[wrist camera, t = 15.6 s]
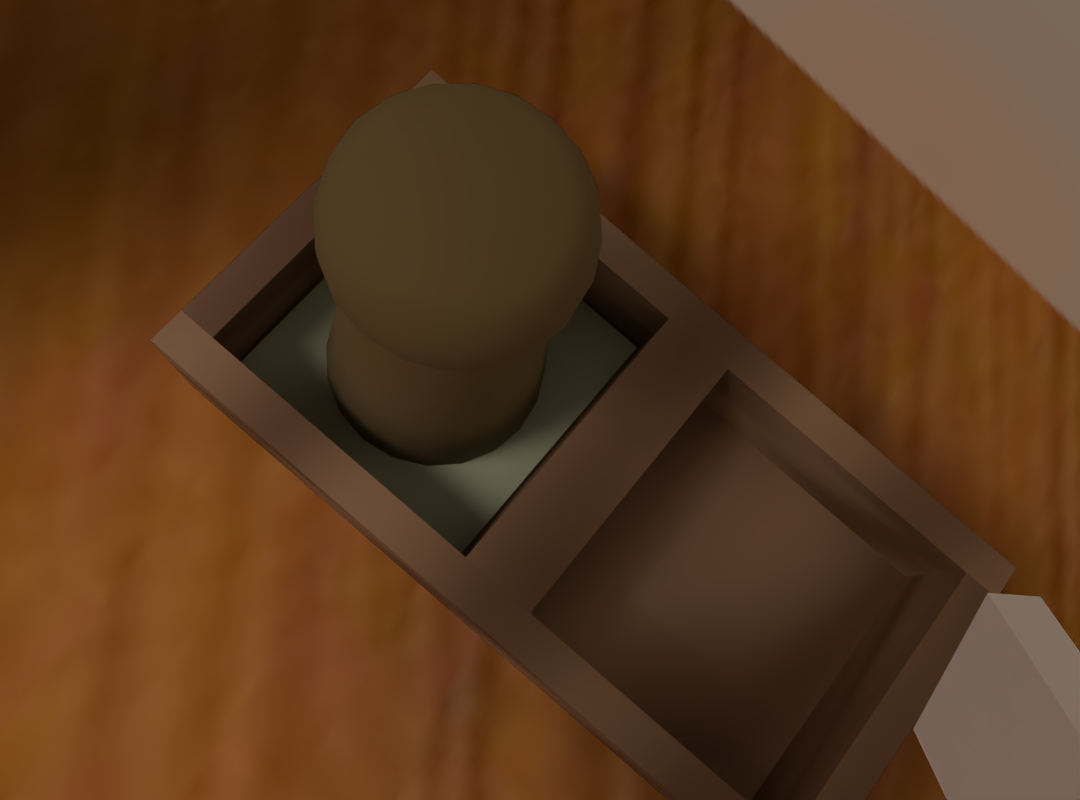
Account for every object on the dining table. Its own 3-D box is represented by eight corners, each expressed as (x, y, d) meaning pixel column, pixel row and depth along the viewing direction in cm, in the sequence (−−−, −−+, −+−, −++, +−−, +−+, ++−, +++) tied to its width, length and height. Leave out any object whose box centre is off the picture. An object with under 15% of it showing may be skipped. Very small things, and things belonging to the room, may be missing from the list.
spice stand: (189, 383, 27) (150, 340, 22) (425, 149, 29) (431, 69, 25) (730, 854, 26) (797, 903, 22) (922, 574, 29) (1016, 568, 24)
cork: (473, 218, 27) (525, -30, 17) (585, 396, 27) (713, 256, 16) (283, 318, 26) (207, 116, 15) (397, 508, 25) (401, 436, 15)
